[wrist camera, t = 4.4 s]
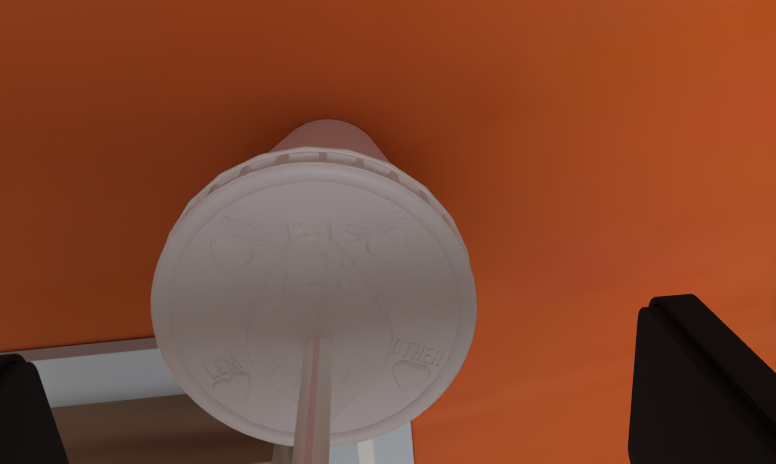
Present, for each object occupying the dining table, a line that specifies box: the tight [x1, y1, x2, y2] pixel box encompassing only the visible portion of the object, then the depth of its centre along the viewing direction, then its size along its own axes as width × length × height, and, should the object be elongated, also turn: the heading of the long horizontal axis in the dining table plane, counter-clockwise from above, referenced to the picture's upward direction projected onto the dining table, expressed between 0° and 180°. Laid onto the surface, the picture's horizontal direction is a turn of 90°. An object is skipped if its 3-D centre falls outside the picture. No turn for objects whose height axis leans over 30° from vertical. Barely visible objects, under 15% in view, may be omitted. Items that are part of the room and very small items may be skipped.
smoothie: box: [151, 119, 477, 464], centre depth 15 cm, size 6×6×14 cm
